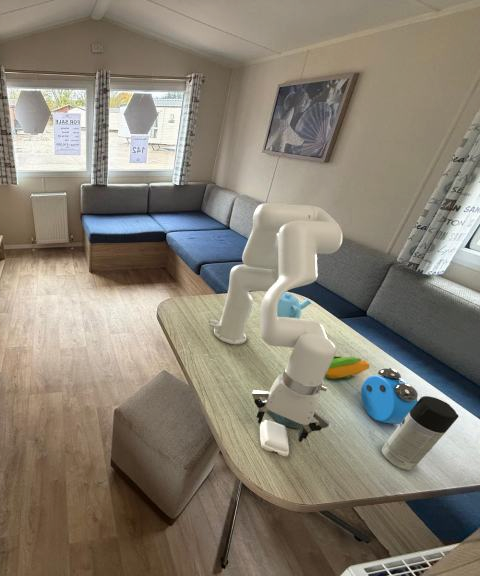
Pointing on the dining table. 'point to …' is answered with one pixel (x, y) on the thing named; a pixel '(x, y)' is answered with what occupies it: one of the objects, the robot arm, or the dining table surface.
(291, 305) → the teapot
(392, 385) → the alarm clock
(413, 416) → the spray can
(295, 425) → the bowl
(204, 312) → the dining table surface
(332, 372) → the corn
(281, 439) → the soap
